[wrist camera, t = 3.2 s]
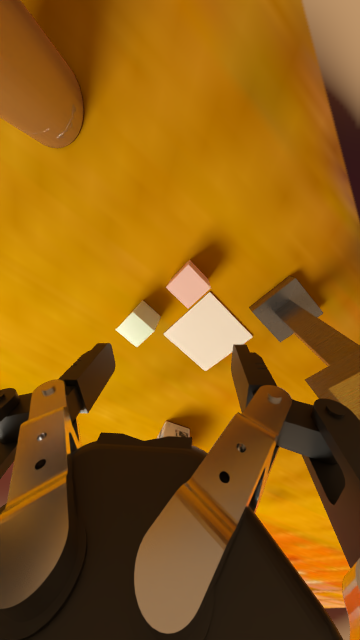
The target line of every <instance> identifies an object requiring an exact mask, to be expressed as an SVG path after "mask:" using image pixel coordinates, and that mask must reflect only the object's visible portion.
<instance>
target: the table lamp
mask: <svg viewBox="0 0 360 640" xmlns="http://www.w3.org/2000/svg"><path fill="white" fill-rule="evenodd" d="M249 308H250V310H251V311H252V312H253V313H254V314H255V315H256V316H257V318H258V319H259V320H260V321H261V322H262V323H263V324H264V325H265V326H266V327H267V328H268V329H269V331H270V332H271V333H272V334H273V335H274V336H275V337H276V338H277V339H278V340H279V341H280V342H281V341H283V340H284V339H286V338H287V337H289V336H290V335H292V334H293V333H294V334H295V335H296V336H297V337H298V338H299V339H300V340H301V341H303V342H304V343H305V344H306V345H307V346H308V347H309V348H310V349H311V350H312V351H313V352H314V353H315V354H316V355H317V356H318V357H319V358H320V359H321V360H322V361H323V362H324V363H325V364H326V365H327V366H328V367H327V368H325V369H323V370H321V371H319V372H318V373H316V374H314V375H312V376H311V377H309V378H307V379H305V381H306V382H307V383H308V385H309V386H310V387H311V389H312V390H313V391H314V392H315V394H316V395H317V396H318V398H319V399H322V398H323V399H331V400H334V401H337V402H339V403H341V404H343V405H344V406H346V407H347V408H349V409H350V410H351V411H352V412H353V413H354V414H355V415H356V417H357V418H358V419H359V420H360V345H358V344H356V343H355V342H353V341H352V340H350V339H349V338H347V337H346V336H344V335H343V334H341V333H340V332H338V331H337V330H335V329H334V328H332V327H331V326H329V325H327V324H326V323H324V322H323V321H321V320H320V319H318V318H317V317H319V316H320V315H322V314H323V312H322V311H321V309H320V308H319V307H318V306H317V304H316V303H315V302H314V301H313V299H312V298H311V297H310V296H309V294H308V293H307V292H306V290H305V289H304V288H303V287H302V285H301V284H300V283H299V282H298V280H297V279H296V278H294V277H292V276H288V277H287V278H286V279H285V280H283V281H282V282H281V283H280V284H278V285H277V286H276V287H275V288H273V289H272V290H271V291H269V292H268V293H267V294H266V295H264V296H263V297H262V298H261V299H259V300H258V301H257V302H256V303H254V304H253V305H252V306H251V307H249Z"/></svg>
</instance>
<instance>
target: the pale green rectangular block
mask: <svg viewBox="0 0 360 640" xmlns="http://www.w3.org/2000/svg"><path fill="white" fill-rule="evenodd" d="M160 318H161V316H160V315H159V314H157V313H156V312H155V311H154V310H153V309H152V308H151V307H150V306H149V305H148V304H146V303H145V302H144V301H142V302H141V303H140V304H139V305H138V306H137V307H136V308H135V309H134V310H133V311H132V312H131V313H130V314H129V315H128V316H127V318H126V319H125V320H124V321H123V322H122V323H121V324H120V326H119V327H118V328H117V329H116V331H118V332H119V333H120V334H121V335H122V336H124V337H125V338H126V339H127V340H128V341H130V342H131V343H132V344H133V345H135V346H136V347H138V346H139V345H140V344H141V343H142V342H143V341H144V340H145V339H146V338H148V337H149V336H150V335H151V334H152V333H153V332H154V331H155V329H156V326H157V324H158V322H159V320H160Z"/></svg>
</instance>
